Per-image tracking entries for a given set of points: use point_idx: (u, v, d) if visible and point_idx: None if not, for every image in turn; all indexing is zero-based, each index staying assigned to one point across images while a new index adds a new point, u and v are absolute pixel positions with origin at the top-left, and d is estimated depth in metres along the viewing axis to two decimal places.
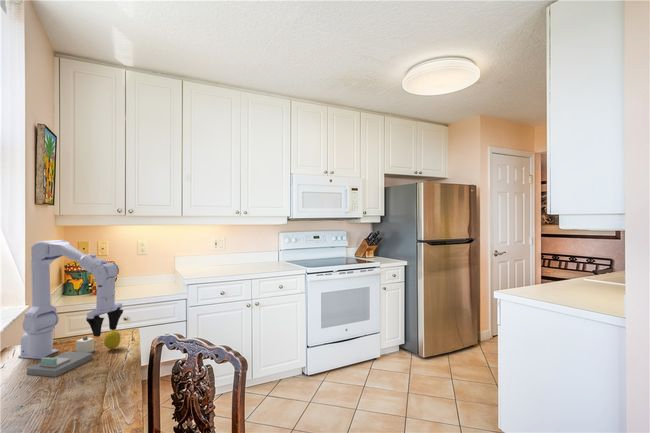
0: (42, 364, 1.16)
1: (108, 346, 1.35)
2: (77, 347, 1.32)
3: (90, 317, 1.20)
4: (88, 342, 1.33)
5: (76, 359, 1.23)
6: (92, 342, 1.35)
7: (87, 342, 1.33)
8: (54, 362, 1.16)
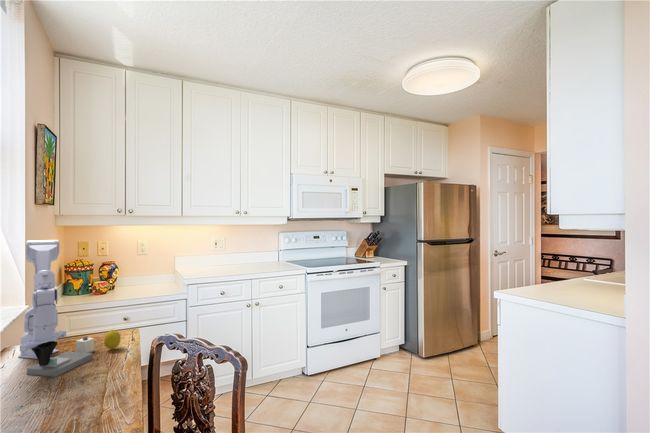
0: None
1: (108, 346, 1.35)
2: (77, 347, 1.32)
3: (23, 350, 1.08)
4: (88, 342, 1.33)
5: (76, 359, 1.23)
6: (92, 342, 1.35)
7: (87, 342, 1.33)
8: (54, 362, 1.16)
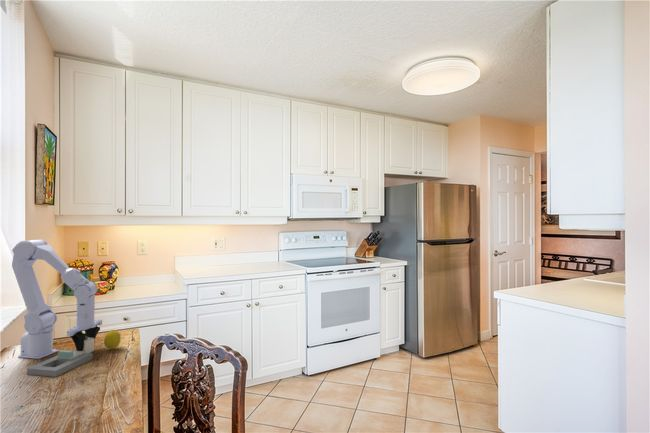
0: (59, 356, 1.23)
1: (108, 346, 1.35)
2: None
3: (69, 334, 1.27)
4: (88, 342, 1.33)
5: (76, 359, 1.23)
6: (92, 342, 1.35)
7: (87, 342, 1.33)
8: (71, 355, 1.22)
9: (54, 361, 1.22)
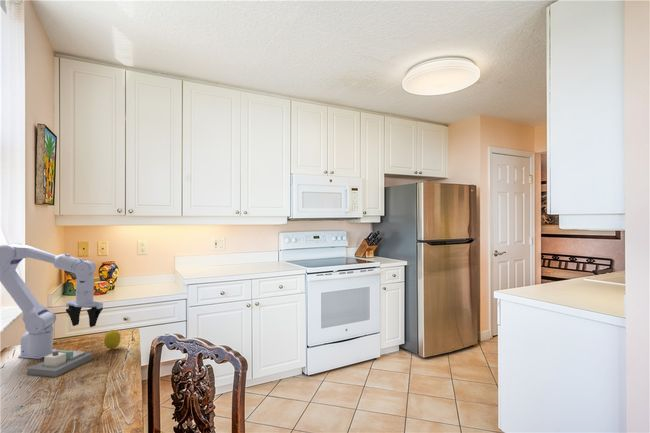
0: None
1: (108, 346, 1.35)
2: None
3: None
4: (48, 359, 1.17)
5: (76, 359, 1.23)
6: (52, 361, 1.17)
7: (46, 358, 1.17)
8: (71, 355, 1.22)
9: None
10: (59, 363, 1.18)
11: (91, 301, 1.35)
